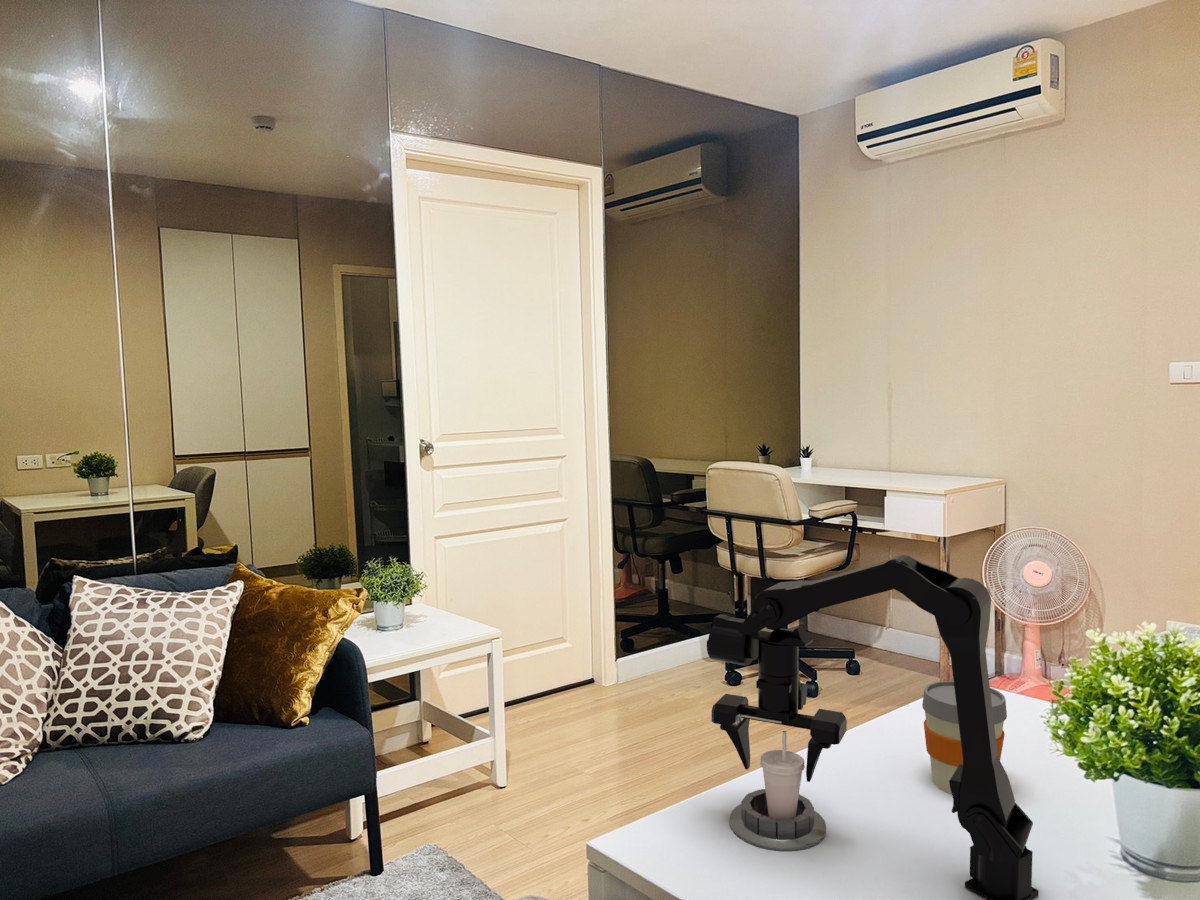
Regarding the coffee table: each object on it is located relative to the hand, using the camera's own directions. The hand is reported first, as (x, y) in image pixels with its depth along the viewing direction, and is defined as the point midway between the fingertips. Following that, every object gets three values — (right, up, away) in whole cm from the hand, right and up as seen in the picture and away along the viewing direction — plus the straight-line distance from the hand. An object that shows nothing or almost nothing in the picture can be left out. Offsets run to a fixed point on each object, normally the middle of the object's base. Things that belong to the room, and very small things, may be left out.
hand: (777, 774), depth 128 cm
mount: (0, -8, +1) cm, 8 cm away
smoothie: (+1, -7, 0) cm, 7 cm away
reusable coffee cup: (+32, -7, +13) cm, 36 cm away
